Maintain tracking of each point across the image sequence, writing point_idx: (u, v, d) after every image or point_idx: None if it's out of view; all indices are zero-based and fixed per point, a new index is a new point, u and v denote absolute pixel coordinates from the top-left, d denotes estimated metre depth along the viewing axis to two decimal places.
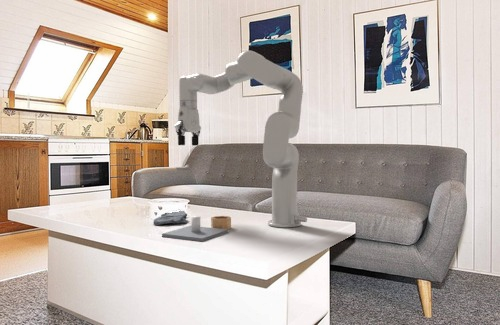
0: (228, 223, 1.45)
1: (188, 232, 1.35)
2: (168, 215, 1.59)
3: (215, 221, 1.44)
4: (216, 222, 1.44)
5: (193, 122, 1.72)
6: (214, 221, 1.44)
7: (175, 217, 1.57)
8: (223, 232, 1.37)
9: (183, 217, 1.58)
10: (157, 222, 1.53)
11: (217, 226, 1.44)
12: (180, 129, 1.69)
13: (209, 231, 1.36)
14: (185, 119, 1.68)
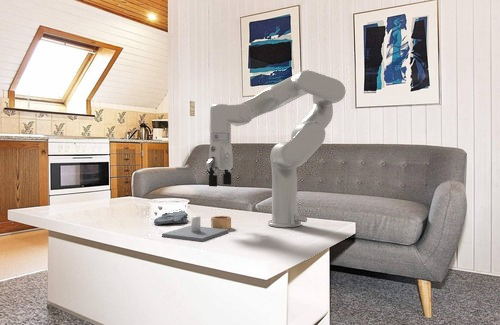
0: (228, 223, 1.45)
1: (188, 232, 1.35)
2: (169, 215, 1.59)
3: (215, 221, 1.44)
4: (216, 222, 1.44)
5: (226, 158, 1.45)
6: (214, 221, 1.44)
7: (175, 217, 1.57)
8: (223, 232, 1.37)
9: (183, 217, 1.58)
10: (157, 222, 1.53)
11: (217, 226, 1.44)
12: (211, 167, 1.43)
13: (209, 231, 1.36)
14: (218, 156, 1.41)
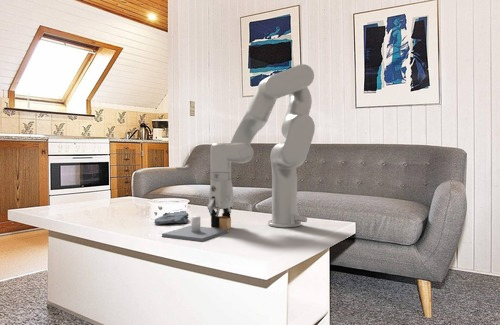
0: (228, 223, 1.45)
1: (188, 232, 1.35)
2: (169, 215, 1.60)
3: None
4: None
5: (227, 197, 1.45)
6: None
7: (176, 217, 1.58)
8: (223, 232, 1.37)
9: (184, 217, 1.58)
10: (158, 222, 1.54)
11: None
12: (213, 208, 1.44)
13: (209, 231, 1.36)
14: (218, 196, 1.41)
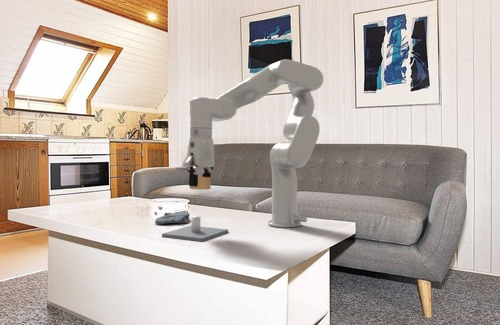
0: (208, 183, 1.37)
1: (188, 232, 1.35)
2: (170, 215, 1.60)
3: None
4: None
5: (207, 155, 1.37)
6: None
7: (177, 217, 1.58)
8: (223, 232, 1.37)
9: (185, 217, 1.58)
10: (158, 221, 1.54)
11: None
12: (191, 166, 1.35)
13: (209, 231, 1.36)
14: (197, 152, 1.33)
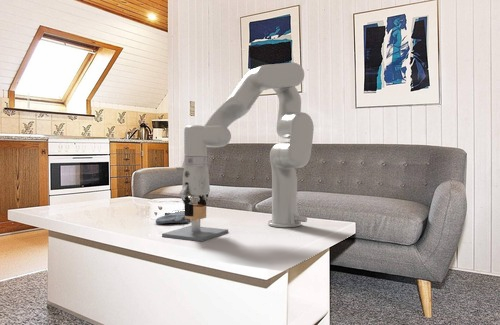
0: (203, 212, 1.35)
1: (188, 232, 1.35)
2: (171, 215, 1.60)
3: None
4: None
5: (202, 184, 1.35)
6: None
7: (177, 217, 1.58)
8: (223, 232, 1.37)
9: None
10: (158, 221, 1.54)
11: None
12: (186, 195, 1.33)
13: (209, 231, 1.36)
14: (192, 182, 1.31)
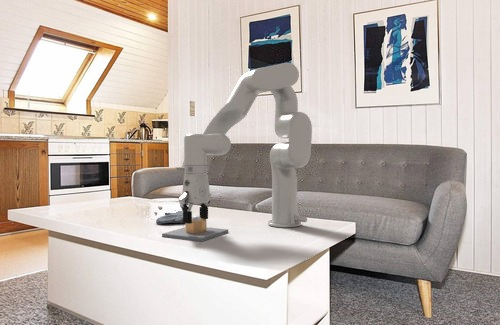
0: (204, 226, 1.35)
1: None
2: (171, 214, 1.60)
3: (189, 224, 1.33)
4: (190, 225, 1.33)
5: (202, 192, 1.35)
6: (188, 224, 1.34)
7: (177, 217, 1.58)
8: (223, 232, 1.37)
9: None
10: (159, 221, 1.55)
11: (191, 229, 1.33)
12: (185, 202, 1.32)
13: (209, 231, 1.36)
14: (192, 190, 1.31)
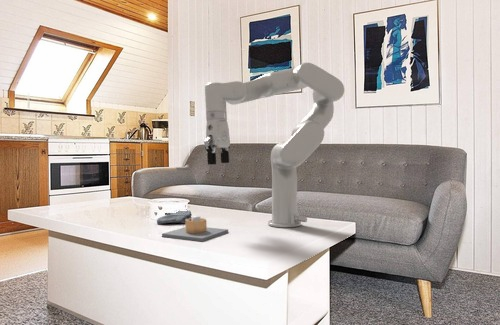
0: (204, 226, 1.35)
1: None
2: (172, 214, 1.61)
3: (189, 224, 1.33)
4: (190, 225, 1.33)
5: (223, 136, 1.46)
6: (188, 224, 1.34)
7: (178, 217, 1.58)
8: (223, 232, 1.37)
9: (186, 217, 1.58)
10: (159, 221, 1.55)
11: (191, 229, 1.33)
12: (209, 145, 1.44)
13: (209, 231, 1.36)
14: (215, 134, 1.42)
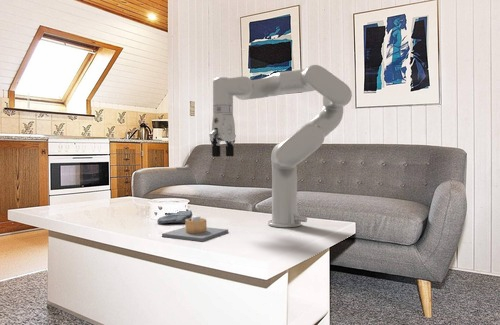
0: (204, 226, 1.35)
1: None
2: (173, 214, 1.61)
3: (189, 224, 1.33)
4: (190, 225, 1.33)
5: (229, 130, 1.50)
6: (188, 224, 1.34)
7: (178, 217, 1.58)
8: (223, 232, 1.37)
9: (186, 217, 1.59)
10: (160, 221, 1.55)
11: (191, 229, 1.33)
12: (214, 138, 1.48)
13: (209, 231, 1.36)
14: (221, 127, 1.46)
